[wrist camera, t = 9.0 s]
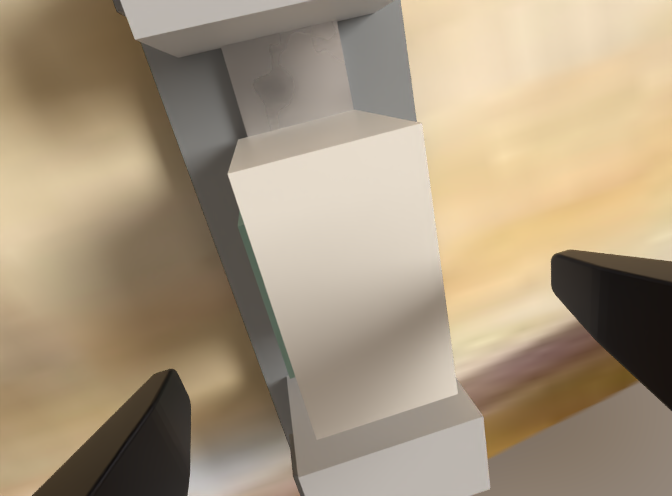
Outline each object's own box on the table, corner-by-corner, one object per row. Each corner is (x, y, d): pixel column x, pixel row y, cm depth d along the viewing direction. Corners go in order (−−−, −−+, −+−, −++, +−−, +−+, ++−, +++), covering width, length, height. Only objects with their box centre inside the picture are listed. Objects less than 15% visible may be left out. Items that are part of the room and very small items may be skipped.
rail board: (369, -136, 14) (462, -315, 8) (443, 381, 23) (513, 489, 17) (102, -85, 13) (-34, -239, 7) (288, 431, 22) (302, 562, 16)
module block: (354, 109, 15) (422, 123, 9) (390, 293, 18) (458, 393, 12) (229, 141, 15) (213, 177, 9) (288, 324, 18) (306, 443, 12)
